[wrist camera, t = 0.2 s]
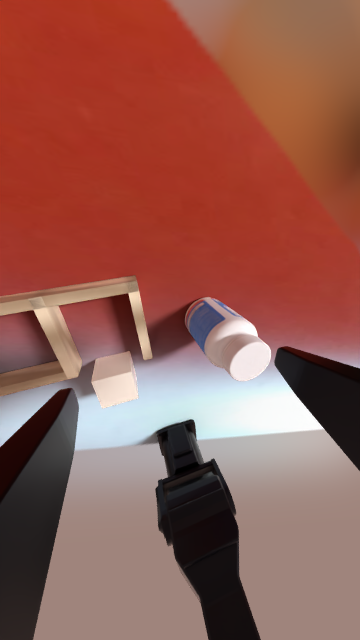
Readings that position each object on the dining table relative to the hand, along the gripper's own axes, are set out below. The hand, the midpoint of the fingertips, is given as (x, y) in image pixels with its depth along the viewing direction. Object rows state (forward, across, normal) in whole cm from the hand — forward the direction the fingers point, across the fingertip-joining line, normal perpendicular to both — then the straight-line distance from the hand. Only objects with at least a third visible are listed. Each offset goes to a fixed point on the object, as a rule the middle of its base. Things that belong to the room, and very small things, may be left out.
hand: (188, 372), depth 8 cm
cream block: (+14, +5, +10) cm, 18 cm away
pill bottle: (+14, -7, +4) cm, 17 cm away
